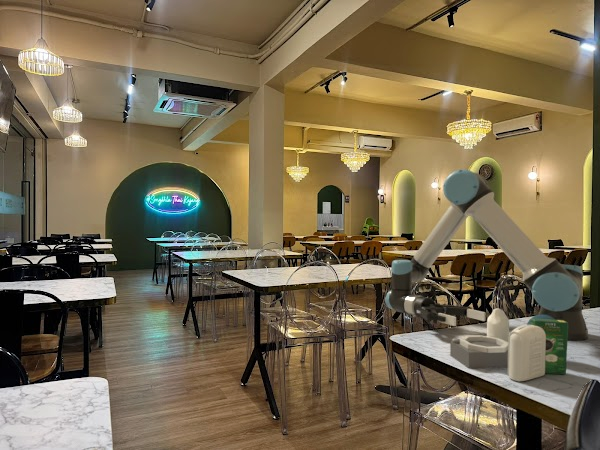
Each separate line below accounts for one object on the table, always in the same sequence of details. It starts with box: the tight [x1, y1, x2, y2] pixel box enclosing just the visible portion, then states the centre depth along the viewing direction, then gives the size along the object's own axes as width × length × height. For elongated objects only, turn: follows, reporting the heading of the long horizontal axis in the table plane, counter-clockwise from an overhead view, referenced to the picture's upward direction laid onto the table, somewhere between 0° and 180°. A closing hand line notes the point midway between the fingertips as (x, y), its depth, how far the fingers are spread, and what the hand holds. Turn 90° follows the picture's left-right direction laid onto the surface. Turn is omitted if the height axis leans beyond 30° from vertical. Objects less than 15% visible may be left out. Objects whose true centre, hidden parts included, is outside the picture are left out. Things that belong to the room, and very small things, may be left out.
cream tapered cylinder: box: [486, 307, 510, 342], centre depth 124 cm, size 6×12×6 cm
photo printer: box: [507, 324, 546, 382], centre depth 101 cm, size 10×4×12 cm, turn 119°
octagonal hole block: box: [449, 334, 508, 369], centre depth 113 cm, size 14×11×5 cm
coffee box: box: [529, 317, 568, 375], centre depth 104 cm, size 8×3×13 cm, turn 82°
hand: (470, 319), depth 132 cm, fingers open, 13 cm apart
